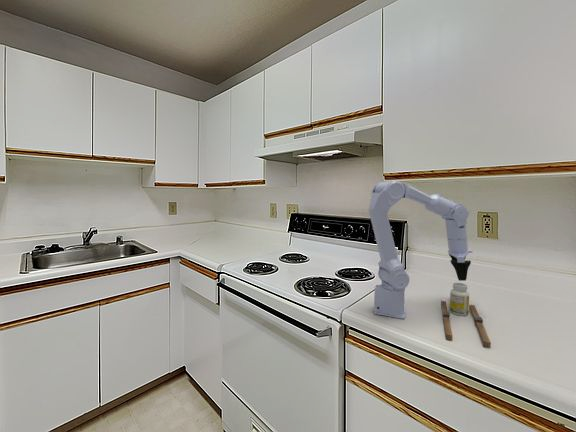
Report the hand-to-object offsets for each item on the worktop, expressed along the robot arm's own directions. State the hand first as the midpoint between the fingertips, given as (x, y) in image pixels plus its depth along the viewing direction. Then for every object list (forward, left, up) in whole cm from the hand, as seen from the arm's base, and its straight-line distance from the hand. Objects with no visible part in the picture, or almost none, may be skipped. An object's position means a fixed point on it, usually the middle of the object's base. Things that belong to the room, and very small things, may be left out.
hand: (461, 276), depth 96 cm
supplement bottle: (-1, -6, -11) cm, 13 cm away
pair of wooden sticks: (-1, -14, -11) cm, 18 cm away
